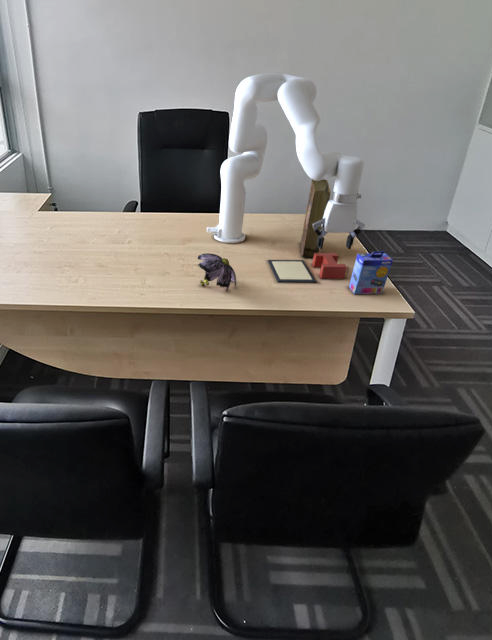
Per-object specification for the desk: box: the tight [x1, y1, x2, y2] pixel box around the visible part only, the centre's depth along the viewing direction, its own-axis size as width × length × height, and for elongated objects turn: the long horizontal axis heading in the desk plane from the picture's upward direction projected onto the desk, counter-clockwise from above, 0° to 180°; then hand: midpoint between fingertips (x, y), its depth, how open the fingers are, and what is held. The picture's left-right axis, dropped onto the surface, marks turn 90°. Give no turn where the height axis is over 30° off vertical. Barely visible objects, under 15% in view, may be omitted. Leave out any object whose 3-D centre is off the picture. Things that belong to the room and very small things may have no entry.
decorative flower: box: [197, 252, 237, 292], centre depth 160 cm, size 14×12×15 cm
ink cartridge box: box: [348, 250, 394, 295], centre depth 157 cm, size 10×6×14 cm, turn 95°
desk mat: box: [267, 259, 317, 284], centre depth 173 cm, size 13×18×1 cm
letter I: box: [311, 252, 348, 280], centre depth 172 cm, size 8×12×4 cm, turn 0°
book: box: [300, 179, 332, 258], centre depth 182 cm, size 16×6×25 cm, turn 168°
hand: (334, 247), depth 168 cm, fingers open, 9 cm apart
